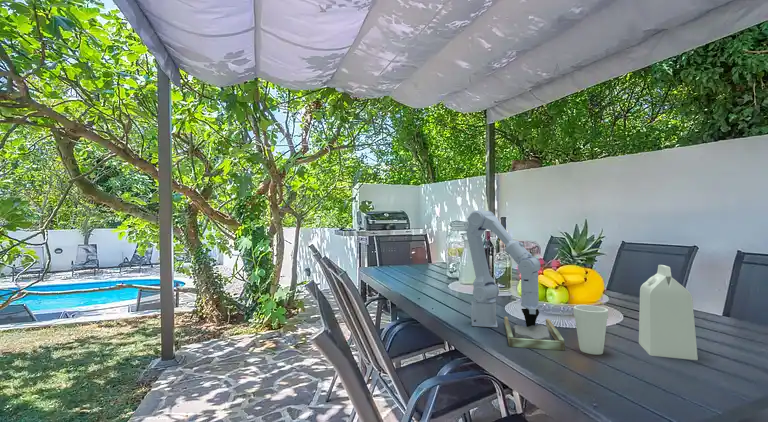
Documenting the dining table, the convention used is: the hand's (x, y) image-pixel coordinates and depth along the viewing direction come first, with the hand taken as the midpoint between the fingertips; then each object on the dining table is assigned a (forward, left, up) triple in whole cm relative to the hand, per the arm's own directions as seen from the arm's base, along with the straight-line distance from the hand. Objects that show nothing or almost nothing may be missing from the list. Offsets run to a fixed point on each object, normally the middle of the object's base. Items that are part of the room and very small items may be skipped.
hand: (530, 329), depth 134 cm
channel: (0, -1, -1) cm, 2 cm away
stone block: (0, -6, -2) cm, 6 cm away
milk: (+38, -9, -2) cm, 39 cm away
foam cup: (+16, -14, -2) cm, 21 cm away
